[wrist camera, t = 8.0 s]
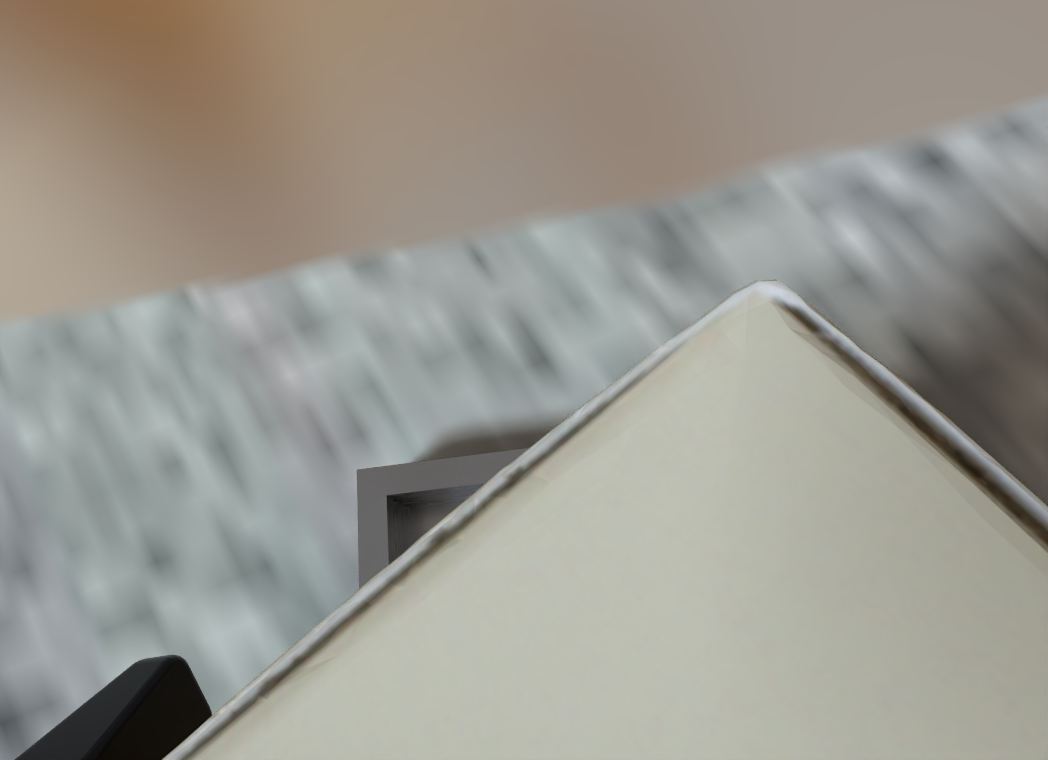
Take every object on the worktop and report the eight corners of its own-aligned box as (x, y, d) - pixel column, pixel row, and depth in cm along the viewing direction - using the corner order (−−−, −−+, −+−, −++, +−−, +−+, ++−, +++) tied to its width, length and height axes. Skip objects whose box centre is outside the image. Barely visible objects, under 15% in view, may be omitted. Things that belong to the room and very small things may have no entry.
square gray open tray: (1003, 1021, 13) (1060, 1078, 11) (396, 1051, 14) (362, 1108, 12) (852, 423, 16) (877, 397, 15) (379, 483, 17) (351, 465, 16)
